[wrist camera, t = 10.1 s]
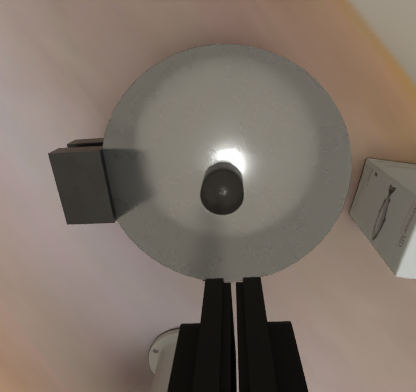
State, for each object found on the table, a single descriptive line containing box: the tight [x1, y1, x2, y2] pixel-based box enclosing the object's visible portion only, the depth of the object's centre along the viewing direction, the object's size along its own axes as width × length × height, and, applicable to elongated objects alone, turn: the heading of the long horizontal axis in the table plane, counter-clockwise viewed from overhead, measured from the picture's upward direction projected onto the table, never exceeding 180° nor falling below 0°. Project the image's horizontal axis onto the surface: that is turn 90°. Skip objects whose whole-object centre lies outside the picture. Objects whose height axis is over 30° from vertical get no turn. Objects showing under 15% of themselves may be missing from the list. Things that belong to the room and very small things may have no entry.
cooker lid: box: [48, 44, 352, 282], centre depth 24 cm, size 19×22×4 cm
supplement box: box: [349, 158, 416, 279], centre depth 32 cm, size 7×7×13 cm
